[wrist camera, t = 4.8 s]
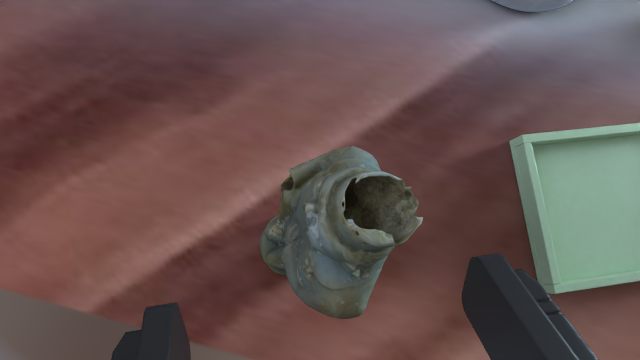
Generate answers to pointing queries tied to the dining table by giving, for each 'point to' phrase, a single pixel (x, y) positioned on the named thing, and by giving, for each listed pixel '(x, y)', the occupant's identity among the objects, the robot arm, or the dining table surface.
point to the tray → (581, 205)
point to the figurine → (338, 229)
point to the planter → (533, 4)
